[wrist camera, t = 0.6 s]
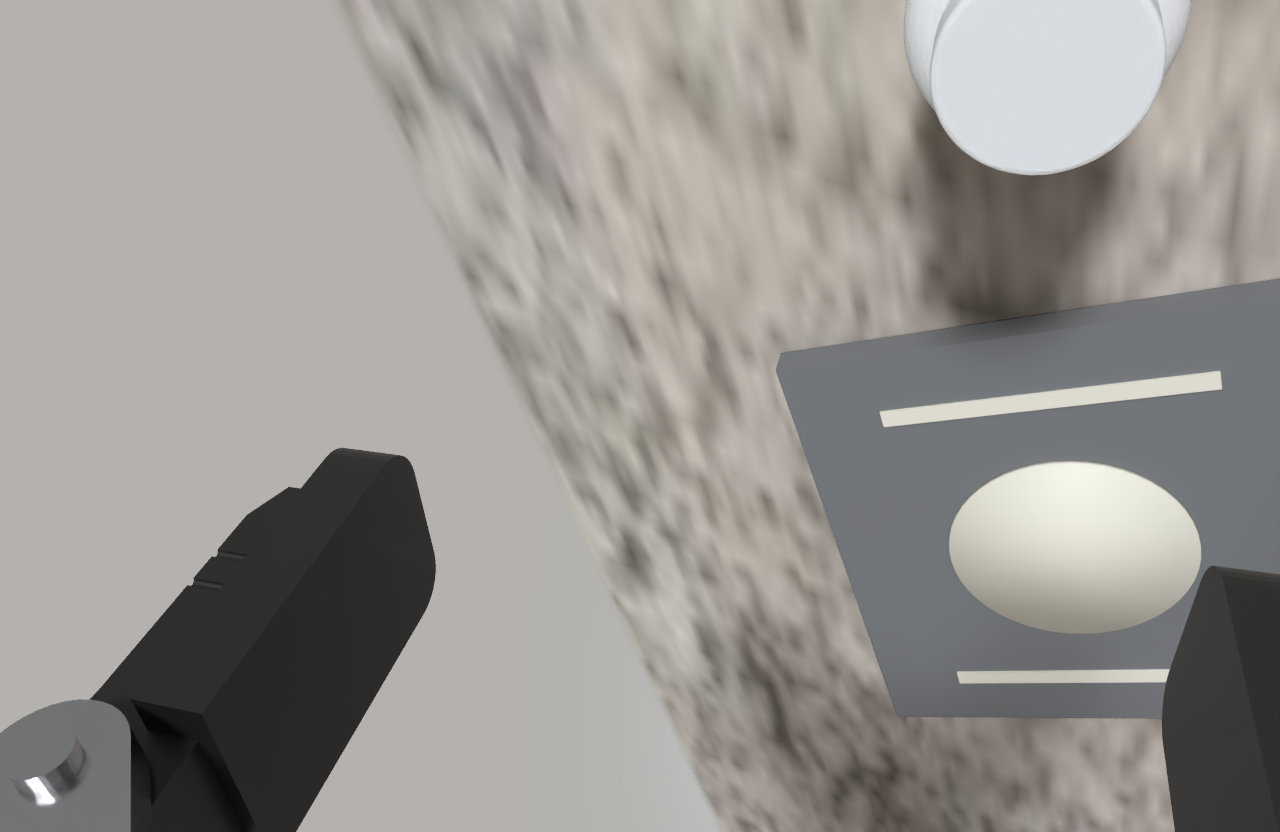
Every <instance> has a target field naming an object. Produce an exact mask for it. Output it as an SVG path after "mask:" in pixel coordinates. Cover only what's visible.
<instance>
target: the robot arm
mask: <svg viewBox="0 0 1280 832" xmlns="http://www.w3.org/2000/svg"><path fill="white" fill-rule="evenodd" d="M435 572H436V564H435V555H434V551H433V546H432V542H431V538H430V534H429V530H428V526H427V522H426V518H425V514H424V510H423V506H422V501H421V497H420V493H419V490H418V485H417V481H416V477H415V473H414V470H413V467H412V465H411V463H410V461H409V460H408V459H407V458H405V457H403V456H400V455H392V454H385V453H377V452H369V451H362V450H354V449H347V448H339V449H336V450H334V451H333V452H331V453H330V454H329V455H328V456H327V457H326V458H325V459H324V461H323V462H322V463H321V464H320V466H319V467H318V468H317V469H316V471H315V472H314V473H313V474H312V476H311V477H310V478H309V479H308V480H307V482H306V483H305V484H304V485H303V487H302V488H301V489H299V488H292V487H288V488H287V489H285V490H284V491H282V492H281V493H279V494H278V495H276V496H275V497H274V498H272V499H271V500H269V501H267V502H266V503H264V504H263V505H261V506H260V507H259V508H257V509H255V510H254V511H252V512H251V513H249V514H248V515H247V516H246V517H245V518H244V519H243V520H242V522H241V523H240V524H239V525H238V526H237V527H236V529H235V530H234V531H233V532H232V533H231V535H230V536H229V537H228V538H227V539H226V541H225V542H224V543H223V544H222V545H221V546H220V547H219V549H218V554H217V556H216V557H211V558H210V559H209V560H208V562H207V563H206V564H205V565H204V566H203V568H202V569H201V570H200V571H199V572H198V574H197V575H196V576H195V577H194V583H193V585H192V586H187V587H186V588H185V589H184V590H183V592H181V594H180V595H179V596H178V597H177V598H176V599H175V601H174V602H173V603H172V604H171V606H170V607H169V608H168V609H167V610H166V611H165V612H164V614H163V615H162V616H161V617H160V618H159V620H158V621H157V622H156V623H155V624H154V626H153V627H152V628H151V629H150V630H149V631H148V632H147V634H146V635H145V636H144V637H143V638H142V640H141V641H140V642H139V643H138V644H137V646H136V647H135V648H134V649H133V650H132V651H131V653H130V654H129V655H128V656H127V657H126V659H125V660H124V661H123V662H122V663H121V664H120V666H119V667H118V668H117V669H116V670H115V671H114V673H113V674H112V675H111V676H110V677H109V679H108V680H107V681H106V682H105V683H104V684H103V686H102V687H101V688H100V689H99V690H98V691H97V692H96V694H94V696H93V697H92V698H91V699H90V700H72V701H65V702H61V703H58V704H54V705H50V706H48V707H45V708H42V709H40V710H37V711H35V712H34V713H31V714H29V715H27V716H25V717H23V718H22V719H20V720H18V721H17V722H15V723H13V724H12V725H10V726H9V727H8V728H6V729H5V730H4V731H2V732H1V733H0V832H296V831H297V829H298V827H299V826H300V824H301V822H302V821H303V819H304V817H305V815H306V814H307V812H308V810H309V809H310V807H311V805H312V803H313V802H314V800H315V798H316V797H317V795H318V793H319V792H320V790H321V788H322V786H323V785H324V783H325V781H326V780H327V778H328V776H329V775H330V773H331V771H332V769H333V768H334V766H335V764H336V763H337V760H338V759H339V757H340V755H341V754H342V752H343V751H344V749H345V747H346V746H347V744H348V742H349V740H350V739H351V737H352V735H353V734H354V732H355V730H356V728H357V727H358V725H359V723H360V722H361V720H362V718H363V716H364V715H365V713H366V711H367V710H368V708H369V706H370V705H371V703H372V701H373V699H374V698H375V696H376V694H377V693H378V691H379V689H380V687H381V686H382V684H383V682H384V681H385V679H386V677H387V675H388V674H389V672H390V670H391V669H392V667H393V665H394V664H395V662H396V660H397V659H398V657H399V655H400V653H401V652H402V650H403V648H404V647H405V645H406V643H407V641H408V640H409V638H410V636H411V635H412V632H413V631H414V629H415V628H416V626H417V624H418V623H419V621H420V619H421V618H422V616H423V614H424V612H425V610H426V608H427V606H428V604H429V601H430V598H431V595H432V591H433V587H434V581H435ZM1162 737H1163V746H1164V754H1165V761H1166V768H1167V776H1168V783H1169V790H1170V797H1171V805H1172V812H1173V819H1174V827H1175V832H1280V574H1274V573H1266V572H1259V571H1251V570H1244V569H1236V568H1228V567H1221V566H1210V567H1209V568H1208V569H1207V570H1206V571H1205V573H1204V575H1203V577H1202V579H1201V582H1200V585H1199V587H1198V590H1197V593H1196V596H1195V599H1194V602H1193V605H1192V607H1191V610H1190V613H1189V616H1188V619H1187V622H1186V624H1185V627H1184V630H1183V633H1182V636H1181V639H1180V642H1179V644H1178V647H1177V650H1176V653H1175V656H1174V659H1173V661H1172V664H1171V667H1170V670H1169V673H1168V676H1167V681H1166V685H1165V691H1164V698H1163V709H1162Z"/></svg>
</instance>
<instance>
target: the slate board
mask: <svg viewBox="0 0 1280 832" xmlns="http://www.w3.org/2000/svg"><path fill="white" fill-rule="evenodd" d="M776 372H777V375H778V378H779V381H780V384H781V386H782V389H783V392H784V395H785V398H786V401H787V404H788V406H789V409H790V412H791V415H792V418H793V421H794V424H795V426H796V429H797V432H798V435H799V438H800V441H801V444H802V446H803V449H804V452H805V455H806V458H807V461H808V463H809V466H810V469H811V472H812V475H813V478H814V481H815V483H816V486H817V489H818V492H819V495H820V498H821V501H822V503H823V506H824V509H825V512H826V515H827V518H828V520H829V523H830V526H831V529H832V532H833V535H834V538H835V540H836V543H837V546H838V549H839V552H840V555H841V558H842V560H843V563H844V566H845V569H846V572H847V575H848V577H849V580H850V583H851V586H852V589H853V592H854V595H855V597H856V600H857V603H858V606H859V609H860V612H861V615H862V617H863V620H864V623H865V626H866V629H867V632H868V635H869V637H870V640H871V643H872V646H873V649H874V652H875V654H876V657H877V660H878V663H879V666H880V669H881V672H882V674H883V677H884V680H885V683H886V686H887V689H888V692H889V694H890V697H891V700H892V703H893V706H894V709H895V711H896V714H897V717H1021V718H1149V719H1162V709H1163V698H1164V691H1165V685H1166V681H1167V676H1168V673H1169V670H1170V667H1171V664H1172V661H1173V659H1174V656H1175V653H1176V650H1177V647H1178V644H1179V642H1180V639H1181V636H1182V633H1183V630H1184V627H1185V624H1186V622H1187V619H1188V616H1189V613H1190V610H1191V607H1192V605H1193V602H1194V599H1195V596H1196V593H1197V590H1198V587H1199V585H1200V582H1201V579H1202V577H1203V575H1204V573H1205V571H1206V570H1207V569H1208V568H1209V567H1210V566H1221V567H1228V568H1236V569H1244V570H1251V571H1259V572H1266V573H1274V574H1280V279H1275V280H1268V281H1261V282H1255V283H1248V284H1241V285H1235V286H1228V287H1221V288H1215V289H1208V290H1201V291H1195V292H1188V293H1181V294H1174V295H1168V296H1161V297H1154V298H1148V299H1141V300H1134V301H1128V302H1121V303H1114V304H1108V305H1101V306H1094V307H1088V308H1081V309H1074V310H1068V311H1061V312H1054V313H1048V314H1041V315H1034V316H1027V317H1021V318H1014V319H1007V320H1001V321H994V322H987V323H981V324H974V325H967V326H961V327H954V328H947V329H941V330H934V331H927V332H921V333H914V334H907V335H900V336H894V337H887V338H880V339H874V340H867V341H860V342H854V343H847V344H840V345H834V346H827V347H820V348H814V349H807V350H800V351H794V352H787V353H781V356H780V359H779V362H778V365H777V368H776Z"/></svg>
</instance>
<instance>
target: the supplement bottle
mask: <svg viewBox="0 0 1280 832" xmlns="http://www.w3.org/2000/svg"><path fill="white" fill-rule="evenodd" d="M1190 10H1191V0H907V1H906V8H905V17H904V43H905V49H906V55H907V60H908V64H909V67H910V70H911V73H912V75H913V78H914V80H915V82H916V84H917V86H918V88H919V90H920V91H921V93H922V95H923V96H924V98H925V99H926V100H927V102H928V103H929V104H930V106H931V107H932V108H933V109H934V110H935V112H936V115H937V117H938V119H939V121H940V123H941V125H942V127H943V128H944V130H945V132H946V133H947V134H948V136H949V137H950V138H951V140H952V141H953V142H954V143H955V144H956V145H957V146H958V147H959V148H960V149H961V150H962V151H964V152H965V153H966V154H968V155H969V156H970V157H972V158H973V159H975V160H976V161H978V162H980V163H982V164H984V165H986V166H989V167H991V168H994V169H997V170H1000V171H1003V172H1008V173H1012V174H1019V175H1048V174H1055V173H1059V172H1064V171H1068V170H1071V169H1074V168H1077V167H1080V166H1083V165H1086V164H1088V163H1090V162H1092V161H1094V160H1096V159H1098V158H1099V157H1101V156H1103V155H1105V154H1106V153H1108V152H1109V151H1111V150H1112V149H1113V148H1115V147H1116V146H1117V145H1119V144H1120V143H1121V142H1122V141H1123V140H1124V139H1126V138H1127V137H1128V136H1129V135H1130V134H1131V133H1132V132H1133V131H1134V129H1135V128H1136V127H1137V126H1138V125H1139V123H1140V122H1141V121H1142V120H1143V118H1144V117H1145V116H1146V114H1147V113H1148V111H1149V109H1150V108H1151V106H1152V104H1153V102H1154V100H1155V98H1156V96H1157V94H1158V92H1159V89H1160V86H1161V83H1162V79H1163V77H1164V76H1165V74H1166V73H1167V71H1168V69H1169V68H1170V66H1171V64H1172V63H1173V61H1174V59H1175V57H1176V55H1177V53H1178V51H1179V49H1180V47H1181V44H1182V41H1183V38H1184V36H1185V33H1186V30H1187V25H1188V20H1189V15H1190Z"/></svg>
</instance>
